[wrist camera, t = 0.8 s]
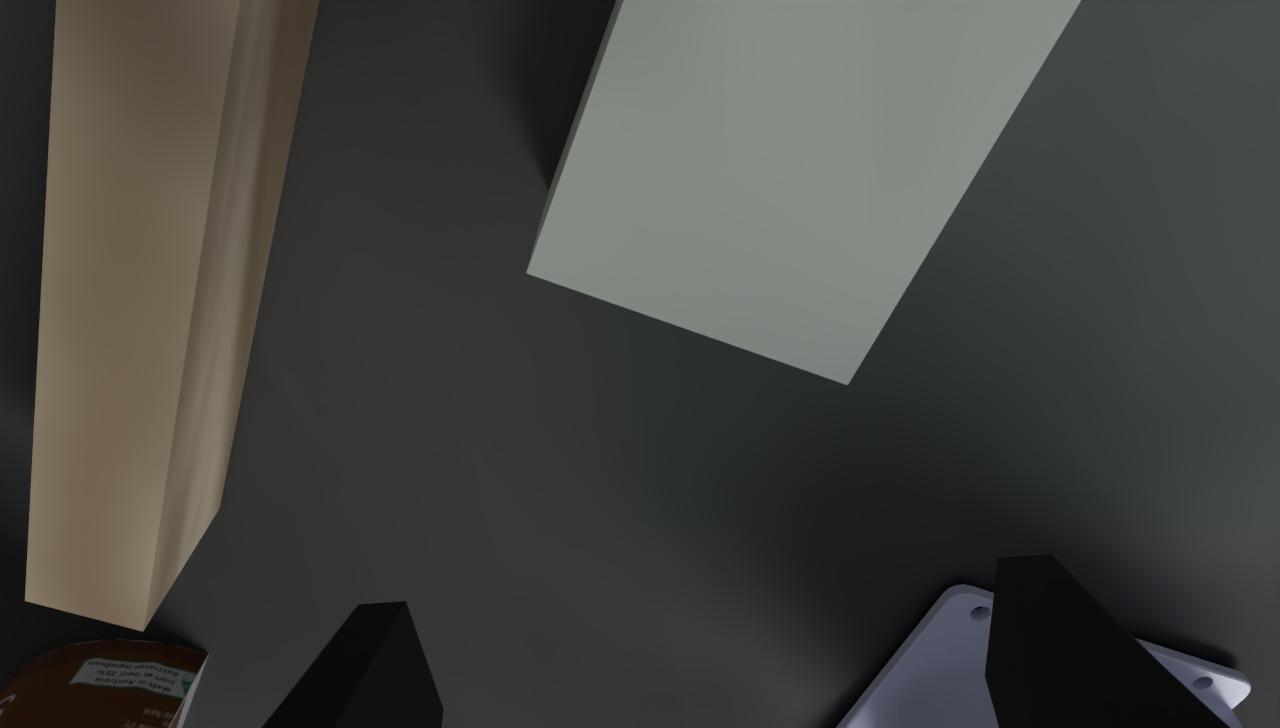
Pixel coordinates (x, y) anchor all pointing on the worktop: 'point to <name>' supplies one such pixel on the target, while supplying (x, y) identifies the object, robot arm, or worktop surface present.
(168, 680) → the food container
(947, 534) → the worktop surface
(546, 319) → the worktop surface
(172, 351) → the birch board
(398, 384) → the worktop surface
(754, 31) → the sage block
